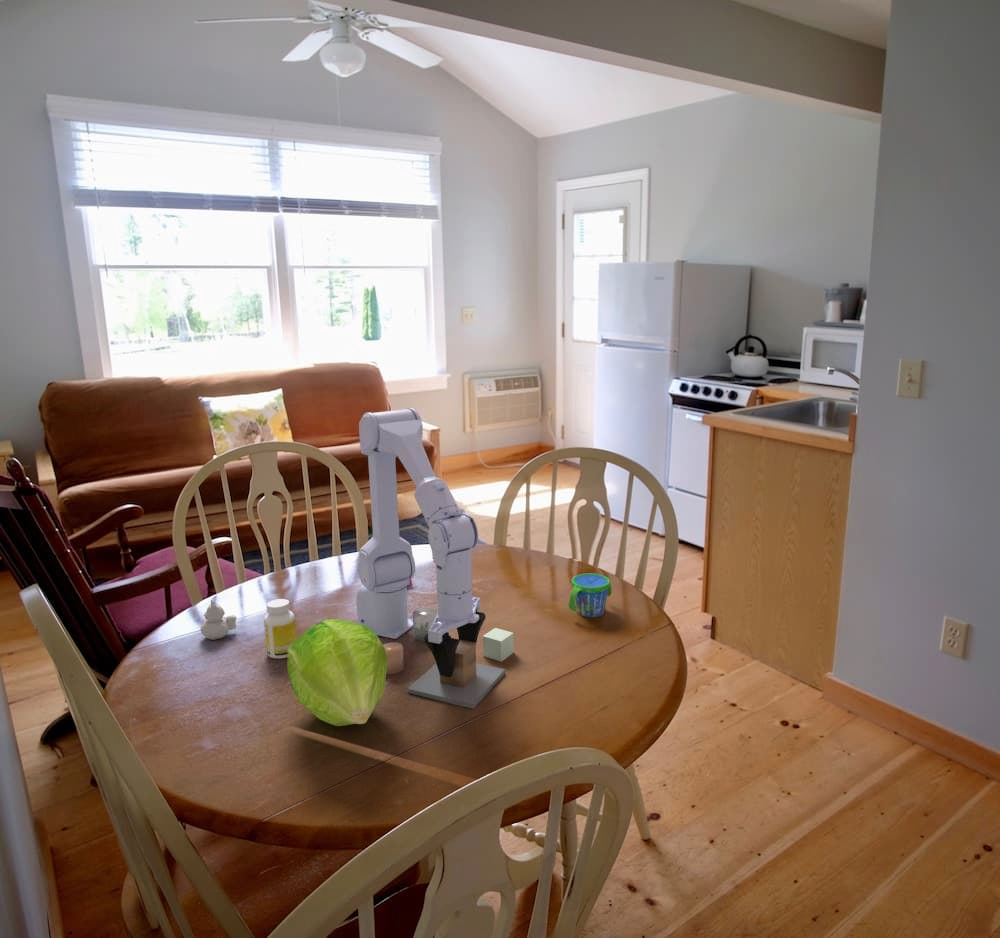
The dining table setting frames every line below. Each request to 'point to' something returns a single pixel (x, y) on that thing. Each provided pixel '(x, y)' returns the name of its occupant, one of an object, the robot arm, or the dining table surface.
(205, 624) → the grey rounded figure
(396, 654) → the peach rounded cylinder
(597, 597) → the snack cup
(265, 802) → the dining table surface
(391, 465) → the robot arm
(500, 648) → the pale green block
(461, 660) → the walnut block
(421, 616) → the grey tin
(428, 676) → the slate coaster
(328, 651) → the lettuce
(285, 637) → the supplement bottle
